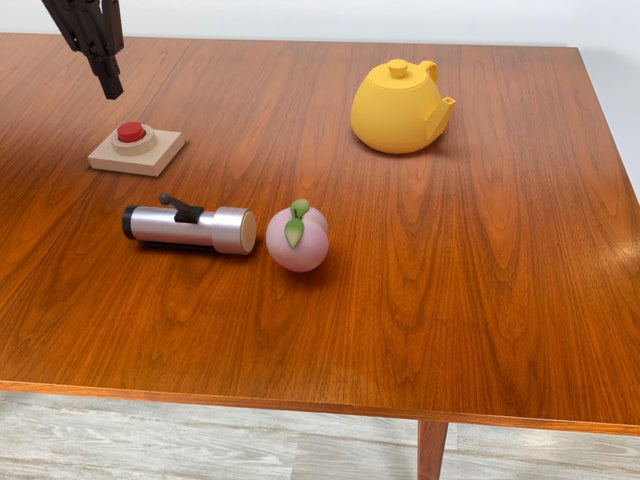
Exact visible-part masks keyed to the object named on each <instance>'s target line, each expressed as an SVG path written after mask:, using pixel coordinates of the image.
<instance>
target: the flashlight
mask: <svg viewBox="0 0 640 480" xmlns="http://www.w3.org/2000/svg"><path fill="white" fill-rule="evenodd" d="M190 206H191V209H190V213H184V212H180V211H178V210H176V209H174V208H171V207H160V206H159V207H157V206H145V205H141V204H129V205H128V206H126V207H125V209H124V211H123V213H122V216H121V229H122V233H123V235H124V236H125V238H126V239H127V240H129V241H146V242H147V241H148V242H147V246H148V248H149V249H161V250H171V251H172V250H173V251H182V252H196V253H207V254H216V252H217V253H218V254H219V253H220V254H221V253H222V254H231V255H243V256H248V255H250V254H251V252H252V251H253V248H254V246H255V243H256V238H257V219H256V215H255V213H254V211H253V210H252V209H251V208H248V207H246V208H244V207H233V206H232V207H231V206H219V207H218V208H217V209H216V210H215V211H208V210H205V209H204V206H198V205H190Z"/></svg>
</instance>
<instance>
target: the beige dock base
mask: <svg viewBox="0 0 640 480" xmlns="http://www.w3.org/2000/svg"><path fill="white" fill-rule="evenodd" d="M140 124H141V125H142V127H143V130H144V133H145V136H144V138H143V139H141V140H139V141H137V142H131V143H123V142H121V140H120V138H119V135H118V133H117V128H118V127H119V126H120V125H118V126H116V127H115V129H114V130H113V131H111V133H110V134H109V135H108V136H107V137H106V138H105V139H104V140H103V141H102V142H101V143H100V144H99V145H98V146H96V148H95V149H94V150H93V151H91V153H89V155H88V156H87V159H88V162H89V164H90V167H91V168H92V169H96V170H105V171H111V172H118V173H119V172H120V173H127V174H134V175H142V176H150V177H159V175H160V174H161V173H162V172H163V171H164V169H165V168H166V167H167V166H168V165H169V163H170V162H171V161H172V160H173V158H174V157H175V156H176V155H177V154H178V152H179V151H180V150H181V149H182V148H183V146H184V145H185V143H186V142H185V139H184V137H183V133H182V132H179V131H171V130H163V129H156V128H155V129H154V128H153V127H151V126H149V125H148V124H142V123H140Z"/></svg>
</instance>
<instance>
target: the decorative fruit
mask: <svg viewBox="0 0 640 480" xmlns="http://www.w3.org/2000/svg"><path fill="white" fill-rule="evenodd" d="M328 224H329V223H328V221H327V218H326V217H325V216H324V214H323V213H322V212H320V211H319V209H317V208H315V207H313V206H311V205H310V202H309V200H307V199H305V198H299V199H296V200H295V201H293V202H292V203H291V204H290V205H289V207H287V208H285V209H282V210H280V211H278V212H277V213H276V214H275V215H274V216H273V217H272V218H271V219H270V221H269V222H268V225H267V227H266V232H265V244H266V248H267V252H268V253H269V255H270V257H271V258H272V259H273V261H275V262H276V263H277V264H278V265H280V266H281V267H283V268H285V269H287V270H288V271H292V272H296V273H306V272H309V271H312V270H314V269H316V268H317V267H319V266H320V265H321V264H322V263H323V262H324V260H325V259H326V257H327V254H328V252H329V249H330V248H329V247H330V242H329V238H328V236H329V225H328Z"/></svg>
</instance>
